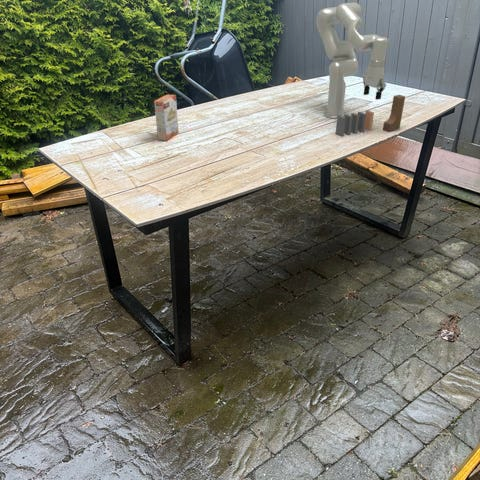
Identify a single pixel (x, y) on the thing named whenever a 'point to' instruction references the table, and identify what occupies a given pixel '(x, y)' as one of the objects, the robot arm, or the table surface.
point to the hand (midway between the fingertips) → (371, 96)
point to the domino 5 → (368, 120)
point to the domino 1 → (340, 125)
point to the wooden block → (395, 114)
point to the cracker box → (166, 117)
